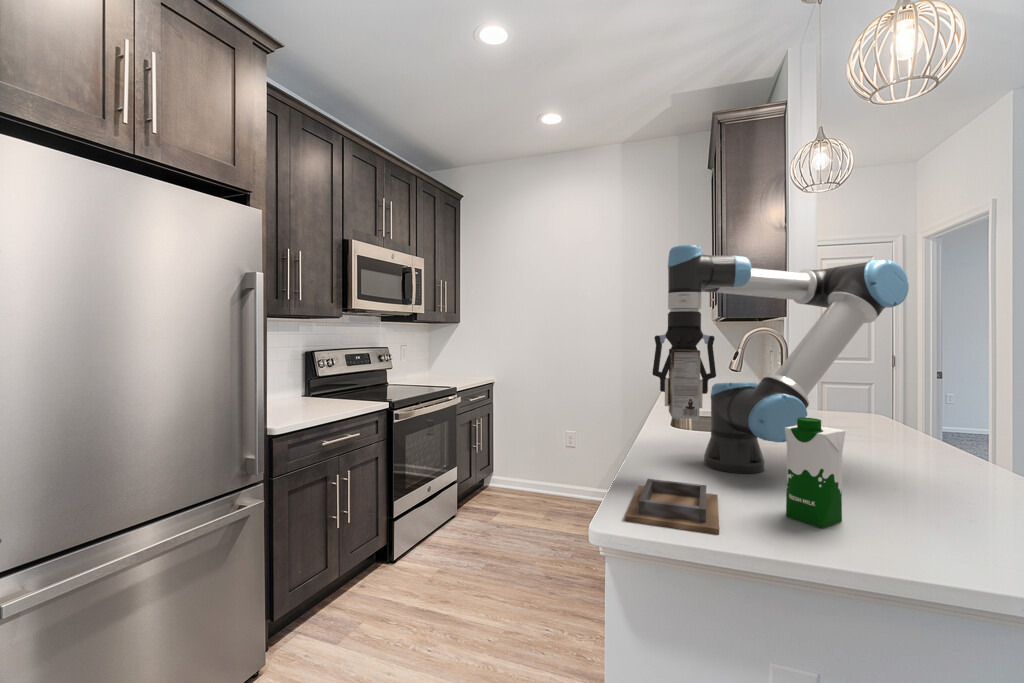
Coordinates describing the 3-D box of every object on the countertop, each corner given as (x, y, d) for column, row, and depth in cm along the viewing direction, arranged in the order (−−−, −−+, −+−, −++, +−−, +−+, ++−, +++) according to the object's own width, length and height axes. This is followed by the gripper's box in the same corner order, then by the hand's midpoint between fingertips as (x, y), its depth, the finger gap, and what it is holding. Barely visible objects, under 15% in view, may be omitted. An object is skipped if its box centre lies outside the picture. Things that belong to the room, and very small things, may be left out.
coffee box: (667, 412, 122) (668, 348, 121) (694, 413, 120) (695, 348, 120) (671, 418, 113) (672, 349, 112) (700, 419, 111) (701, 350, 111)
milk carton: (778, 515, 97) (779, 416, 97) (804, 507, 102) (805, 413, 101) (824, 531, 90) (826, 424, 89) (850, 522, 94) (851, 419, 94)
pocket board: (717, 499, 107) (717, 483, 107) (719, 534, 88) (719, 515, 88) (638, 489, 113) (638, 474, 113) (625, 520, 95) (625, 503, 95)
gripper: (639, 311, 116) (639, 406, 117) (730, 309, 109) (729, 411, 109) (643, 312, 123) (643, 401, 124) (729, 310, 116) (728, 406, 116)
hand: (683, 406), depth 117 cm, fingers closed on coffee box, 7 cm apart
